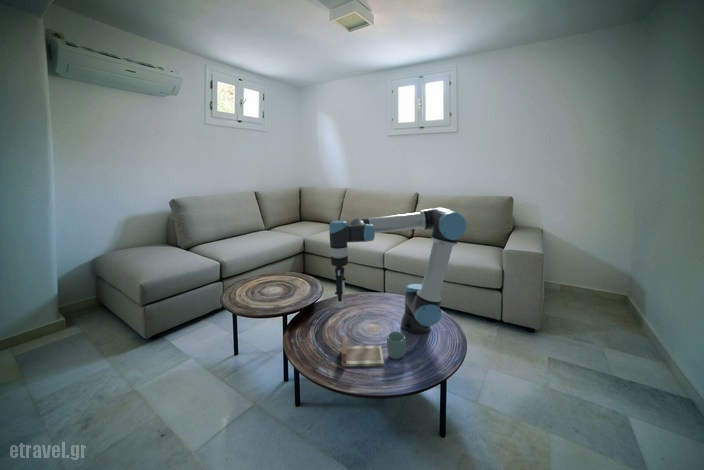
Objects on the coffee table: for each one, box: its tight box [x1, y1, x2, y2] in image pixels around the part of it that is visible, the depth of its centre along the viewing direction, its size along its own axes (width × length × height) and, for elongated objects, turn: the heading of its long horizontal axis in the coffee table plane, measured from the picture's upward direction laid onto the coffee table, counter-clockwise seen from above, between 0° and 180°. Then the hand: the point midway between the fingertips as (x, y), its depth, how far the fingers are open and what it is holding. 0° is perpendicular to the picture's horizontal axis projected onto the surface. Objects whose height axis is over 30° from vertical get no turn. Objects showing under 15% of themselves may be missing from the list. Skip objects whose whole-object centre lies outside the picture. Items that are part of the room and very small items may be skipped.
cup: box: [386, 331, 406, 360], centre depth 134 cm, size 8×8×10 cm
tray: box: [341, 336, 385, 367], centre depth 135 cm, size 18×13×6 cm
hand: (341, 300), depth 138 cm, fingers open, 13 cm apart
